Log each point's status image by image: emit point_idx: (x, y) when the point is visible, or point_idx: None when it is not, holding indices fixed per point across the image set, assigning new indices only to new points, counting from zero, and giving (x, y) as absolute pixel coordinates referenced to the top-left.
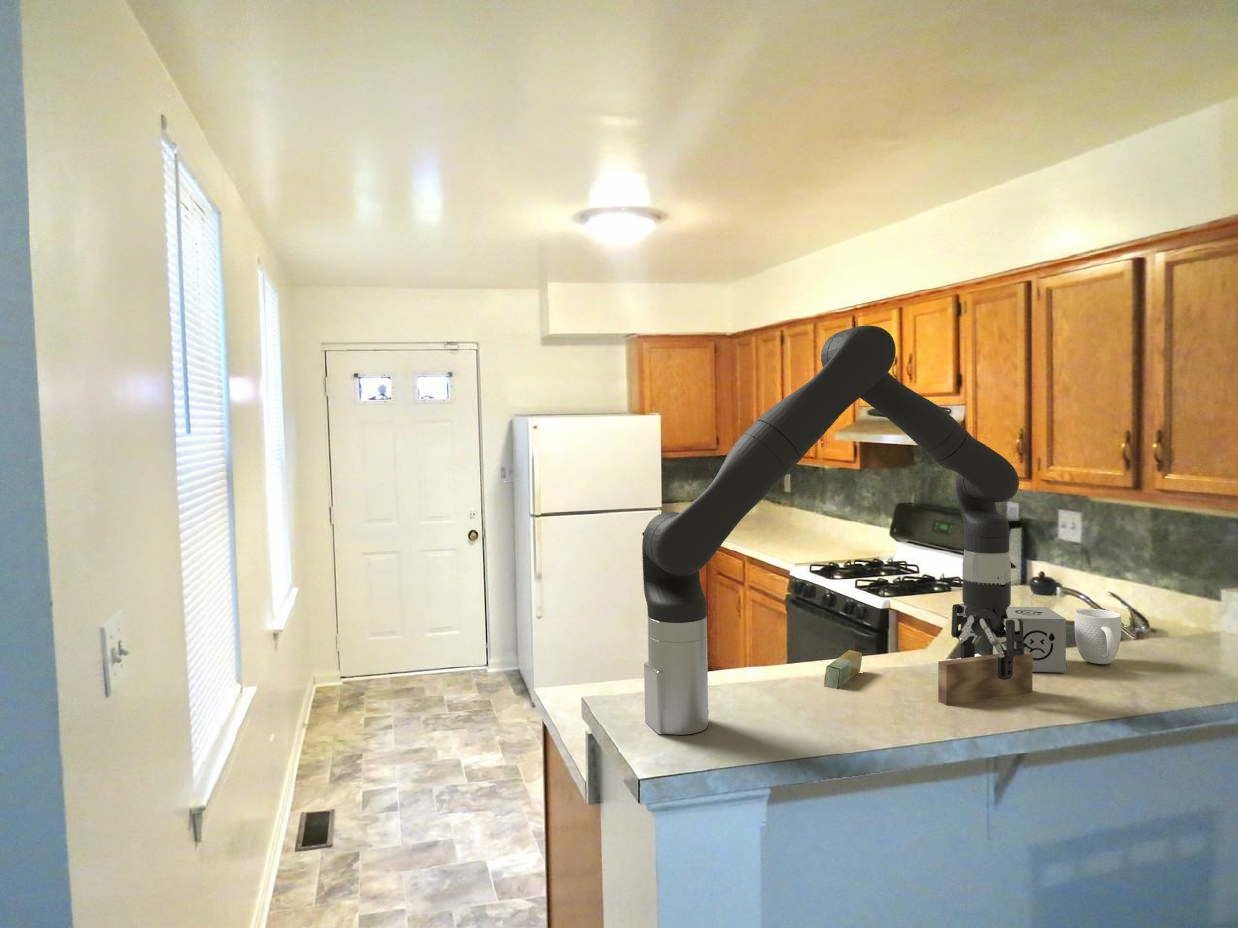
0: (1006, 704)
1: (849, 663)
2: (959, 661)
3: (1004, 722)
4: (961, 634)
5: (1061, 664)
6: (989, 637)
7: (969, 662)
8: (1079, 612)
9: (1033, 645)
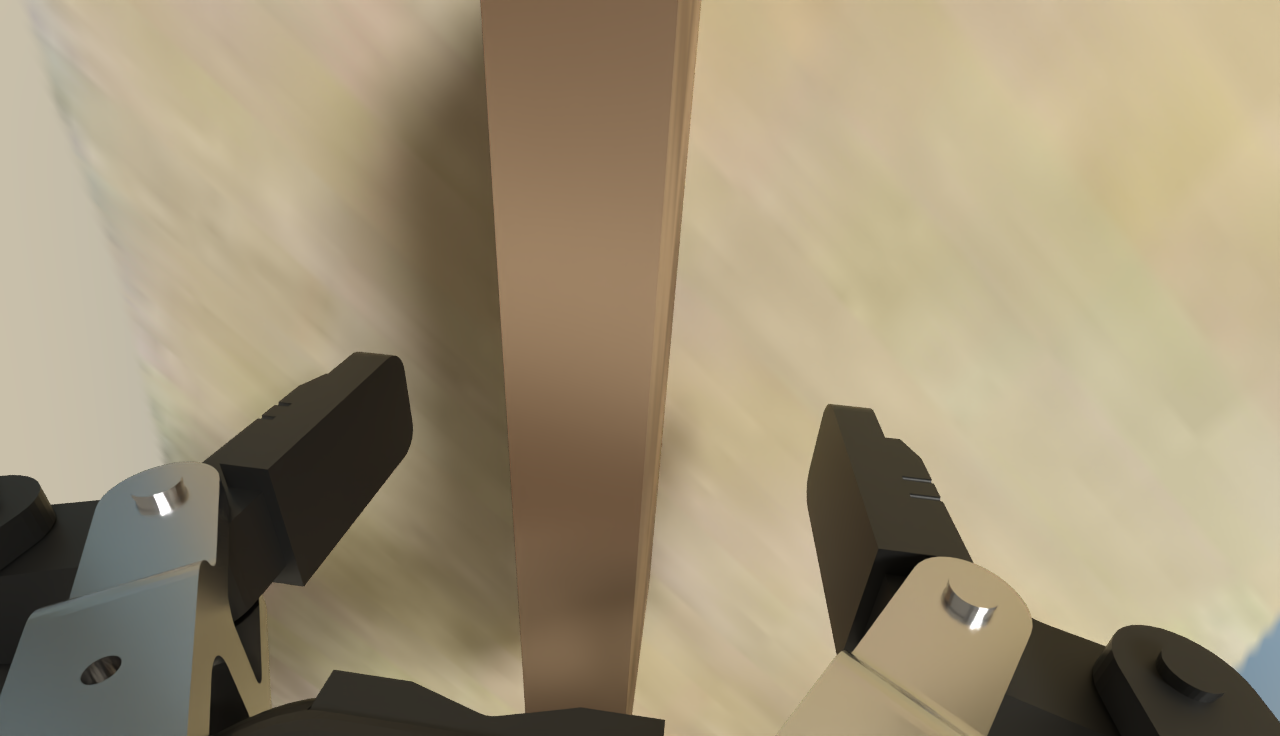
0: (470, 321)
1: None
2: (552, 92)
3: (162, 23)
4: (989, 684)
5: None
6: (148, 662)
7: (500, 217)
8: None
9: None
